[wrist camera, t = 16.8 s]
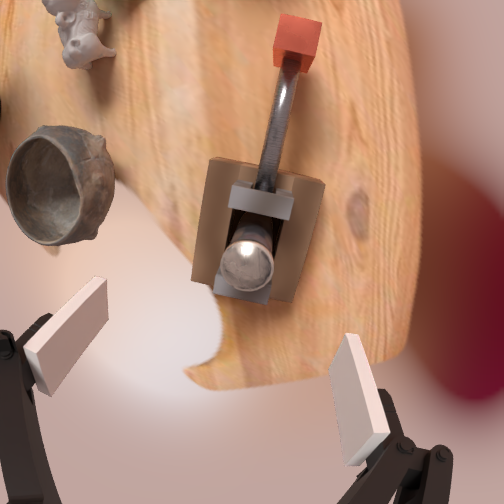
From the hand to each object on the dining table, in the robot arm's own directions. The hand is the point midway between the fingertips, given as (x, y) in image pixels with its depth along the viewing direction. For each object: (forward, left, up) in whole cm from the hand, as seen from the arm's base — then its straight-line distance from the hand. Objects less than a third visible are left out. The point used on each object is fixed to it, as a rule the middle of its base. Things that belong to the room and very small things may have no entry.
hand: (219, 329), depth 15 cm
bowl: (-23, +1, -22) cm, 32 cm away
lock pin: (+1, +12, -19) cm, 23 cm away
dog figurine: (-25, +21, -22) cm, 40 cm away
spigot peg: (+1, -1, -22) cm, 22 cm away
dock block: (+1, -1, -22) cm, 22 cm away
